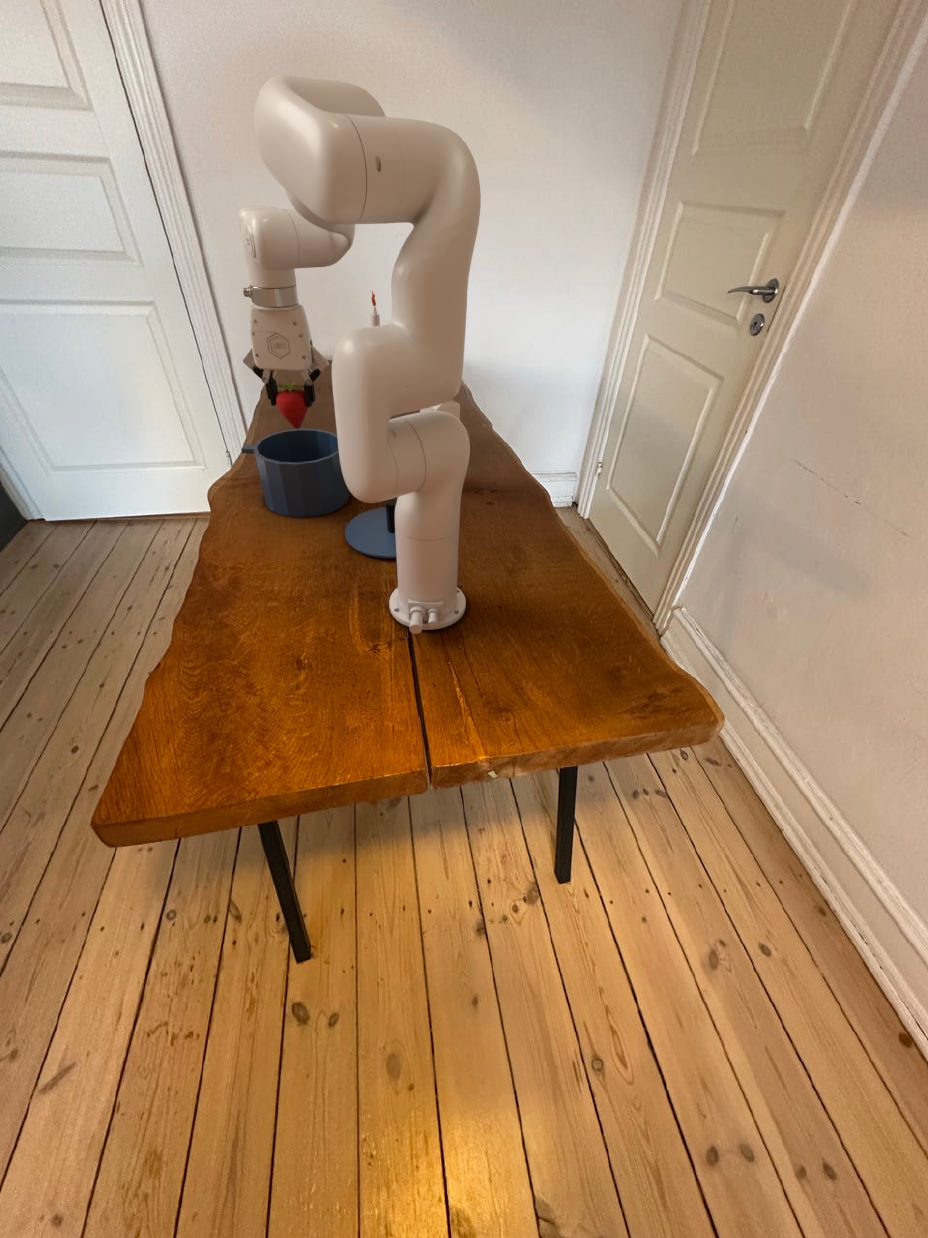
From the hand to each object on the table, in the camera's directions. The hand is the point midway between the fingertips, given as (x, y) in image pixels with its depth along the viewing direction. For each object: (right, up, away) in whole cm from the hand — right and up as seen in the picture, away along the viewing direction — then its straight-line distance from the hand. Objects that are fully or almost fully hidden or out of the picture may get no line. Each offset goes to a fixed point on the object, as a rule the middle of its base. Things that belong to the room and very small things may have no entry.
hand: (292, 403), depth 105 cm
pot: (-1, -15, +13) cm, 20 cm away
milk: (+27, -12, +19) cm, 35 cm away
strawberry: (0, -4, +3) cm, 5 cm away
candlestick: (+12, +1, +33) cm, 35 cm away
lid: (+19, -24, +2) cm, 31 cm away
